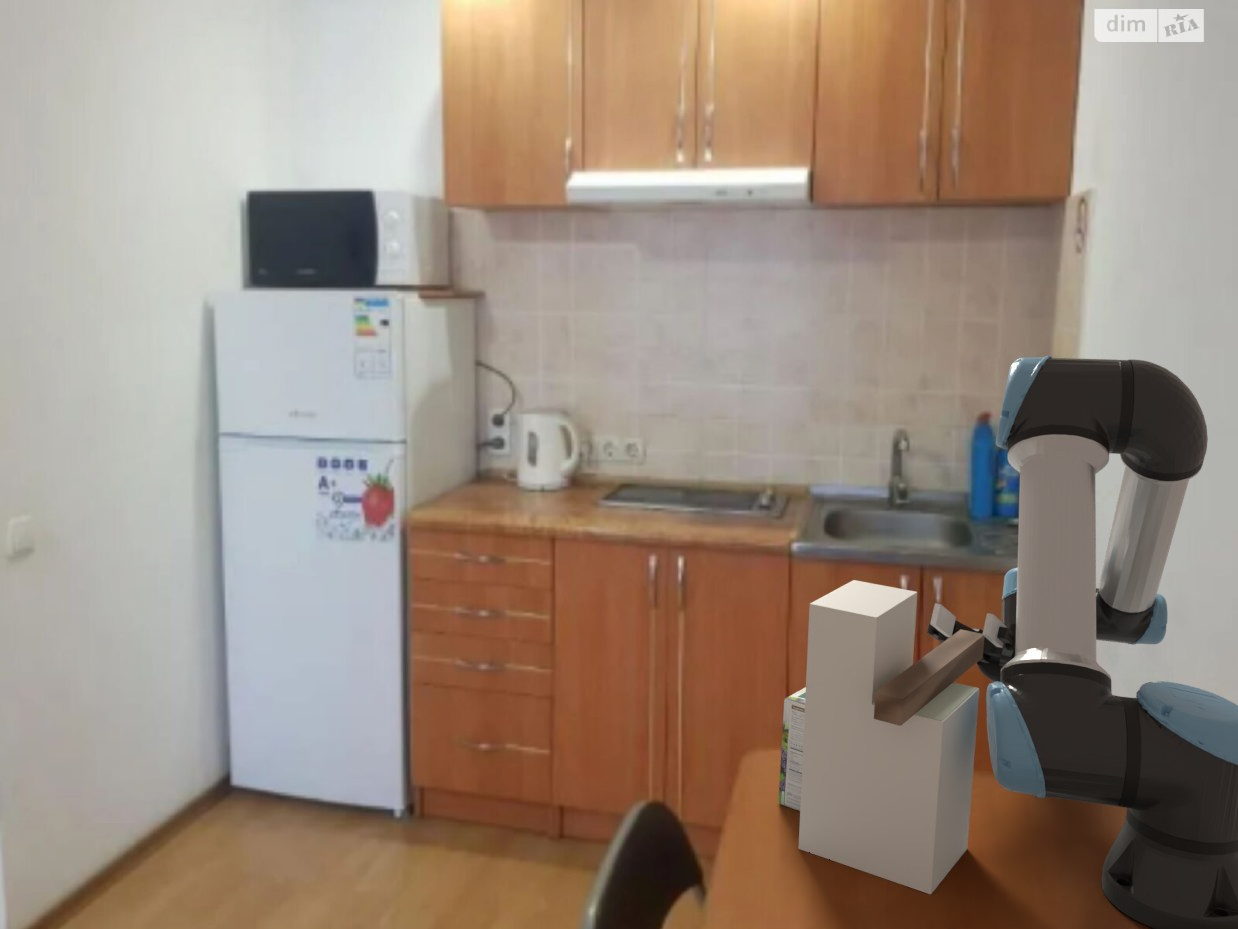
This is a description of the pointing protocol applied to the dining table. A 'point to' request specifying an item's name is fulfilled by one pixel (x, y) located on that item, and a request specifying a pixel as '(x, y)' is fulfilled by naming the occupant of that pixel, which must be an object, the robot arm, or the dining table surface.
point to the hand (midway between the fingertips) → (961, 619)
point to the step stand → (881, 746)
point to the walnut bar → (928, 677)
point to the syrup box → (792, 750)
